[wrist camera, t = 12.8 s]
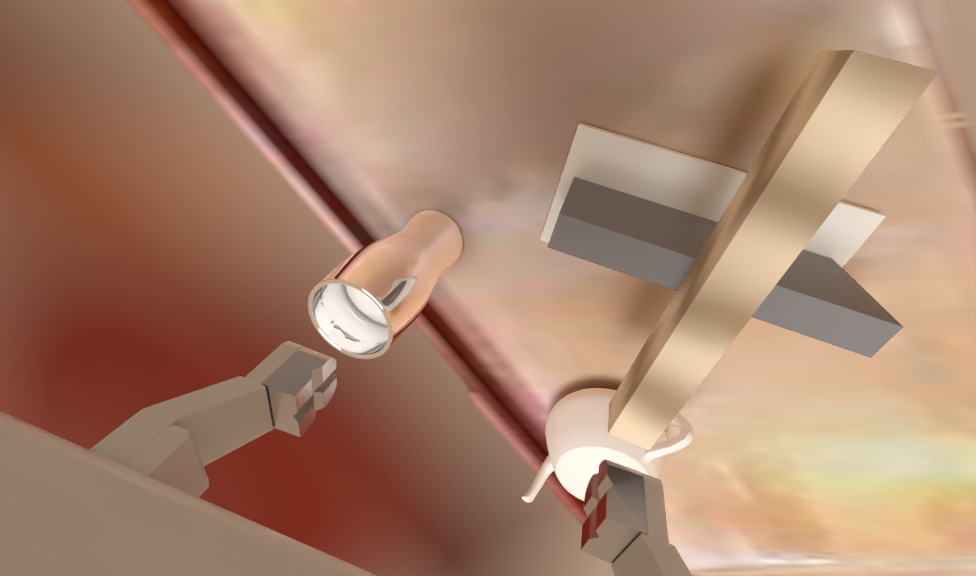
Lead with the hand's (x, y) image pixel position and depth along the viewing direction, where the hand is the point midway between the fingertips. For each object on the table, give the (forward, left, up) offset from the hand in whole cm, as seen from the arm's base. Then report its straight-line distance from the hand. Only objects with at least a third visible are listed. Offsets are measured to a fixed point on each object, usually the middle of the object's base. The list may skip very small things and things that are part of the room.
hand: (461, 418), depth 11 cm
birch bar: (0, +10, -16) cm, 19 cm away
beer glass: (+9, -11, -27) cm, 30 cm away
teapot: (+24, +12, -27) cm, 38 cm away
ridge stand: (0, +10, -26) cm, 28 cm away
